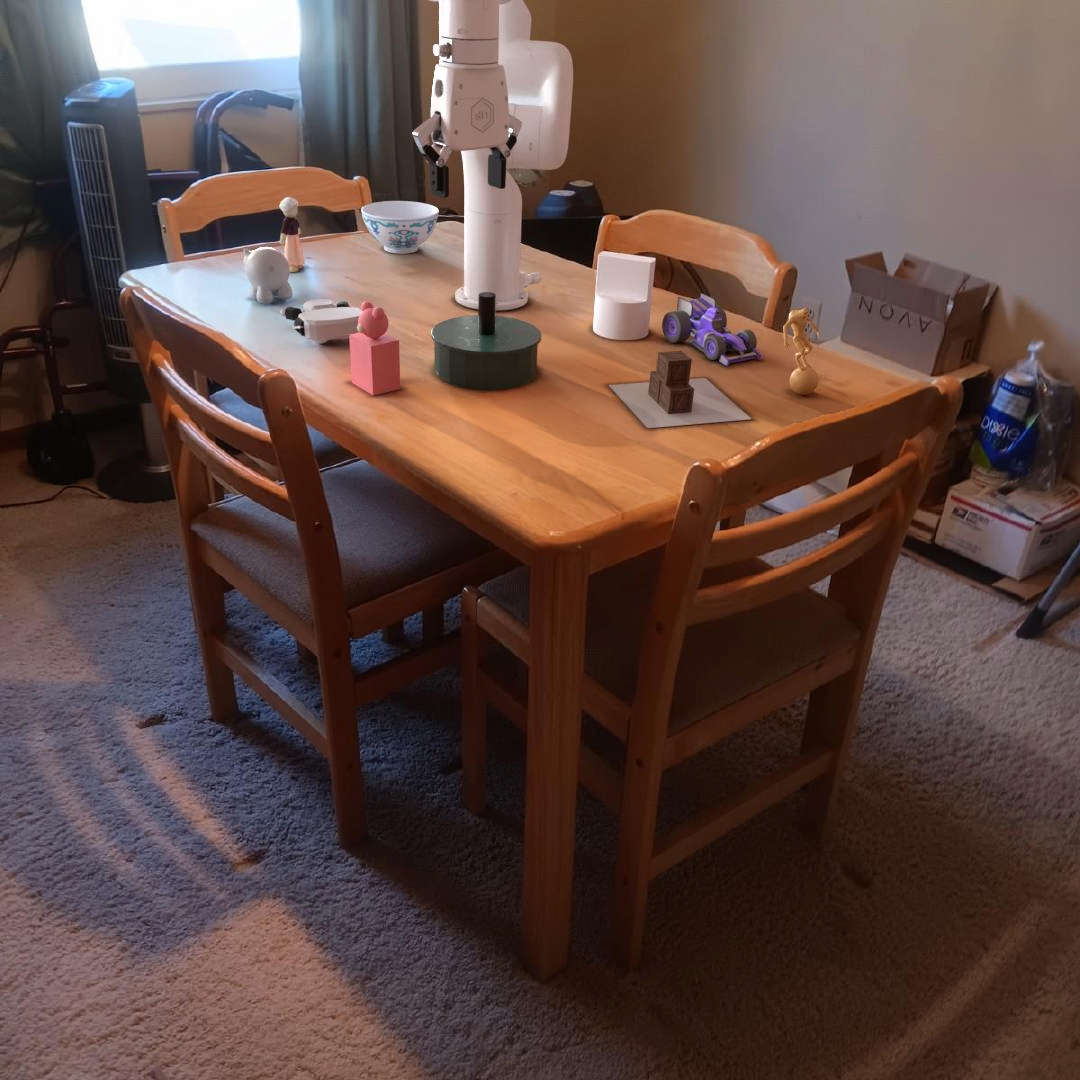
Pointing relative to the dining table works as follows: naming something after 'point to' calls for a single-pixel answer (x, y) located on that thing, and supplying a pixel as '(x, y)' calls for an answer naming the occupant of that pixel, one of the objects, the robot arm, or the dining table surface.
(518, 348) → the pot lid
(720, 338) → the toy race car
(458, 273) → the dining table surface
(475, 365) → the pot
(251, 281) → the toy rhinoceros
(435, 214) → the chinaware
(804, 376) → the figurine
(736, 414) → the stack of crates
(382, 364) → the pink bear head stamp
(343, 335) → the robot toy
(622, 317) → the cylinder with rectangular tab
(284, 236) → the grandmother figurine
